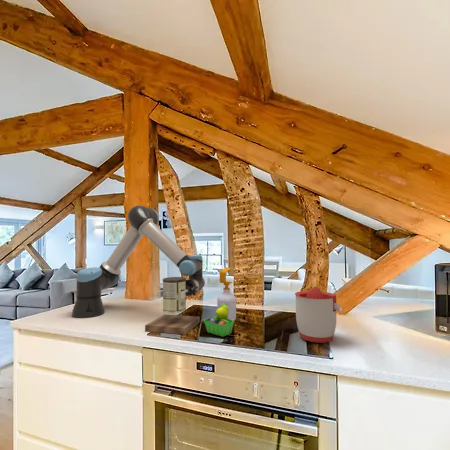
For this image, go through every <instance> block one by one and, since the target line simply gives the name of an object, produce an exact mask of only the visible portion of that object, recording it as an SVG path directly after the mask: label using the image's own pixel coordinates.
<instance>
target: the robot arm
mask: <svg viewBox="0 0 450 450" xmlns="http://www.w3.org/2000/svg"><path fill="white" fill-rule="evenodd" d="M127 220H128V222H129V228H128V230H127V231H126V232H125V234H124V235H123V237H122V239H120V241H119V243H118V244H117V246H116V247H115V249H114V250H113V251H112V253H111V255H110V256H109V257H108V259H107V261H103V262H102V263H101V264H100V265H99V266H98V267H94V266H93V267H88V268H86V267H85V268H82V269H80V270H78V271H77V272H76V273H77V274H76V300H75V303H74V304H73V309H72V311H71V317H73V318H76V319H77V318H81V319H83V318H93V317H94V318H95V317H97V316H101V315H104V314H105V307H104V303H103V300H102V291H104V290H107V289H111V288H113V287H114V286H116V285H117V284H118V282H119V280H120V275H121V273H122V271H121V269H122V268H123V266H124V264H125V263H126V262H127V260H128V259H129V257H130V255H132V253H133V251H135V248H136V247H137V245H138V244H139V243H140V241H141V240H142V238H143V237H144V236H145V238H147V239H148V240H149V241H150V242H151V243H153V244H154V246H155V247H157V249H159V250H160V252H162V253H163V254H164V255H165V257H167V258H168V259H169V260H170V261H171V262H172V263H173V264H174V265H175V266H176V267H177V268H178V269H179V272H180V274H181V275H182V276H183V277H188V278H186V290H185V291H183V292H181V299H183V298H185V297H186V298H187V297H190V296H194V297H195V296H196V295H197V293H198V292H199V291H201V290H202V289H203V288H204V287H205V285H206V280H205V278H204V275H203V274H204V273H203V264H204V263H203V262H204V261H203V255H202V254H191V255H188V254H187V253H186V252H185V251H184V250H183V249H182V248H180V247H179V245H177V244H176V243H175V242H174V241H173V239H171V238H170V237H169V236H168V235H167V234H166V233H165V232H164V231H163V230H162V229H161V228H160V227H159V226H158V225H159V221H160V217H159V213H158V212H157V210H155V209H154V208H152V207H147V206H144V205H134V206H132V207H130V209H129V211H128V214H127ZM157 298H163V287H160V289H159V290H158V292H157Z"/></svg>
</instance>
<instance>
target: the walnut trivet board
mask: <svg viewBox="0 0 450 450" xmlns="http://www.w3.org/2000/svg"><path fill="white" fill-rule="evenodd" d="M200 317H201V316H194V315H193V316H192V315H179V314H167V313H166V314H162V315H160V316H159V317H157V318H155V319H153V320H152V321H150V322H148V323H146V324H144V332H150V333H160V332H163V333H162V334H171V333H172V334H173V335H186V334H188V332H190V331H191V330H192V329H194V328H195V327H196V326H198V324H199V323H200V322H201V321H200V320H201V319H200ZM172 334H171V335H172Z"/></svg>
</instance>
